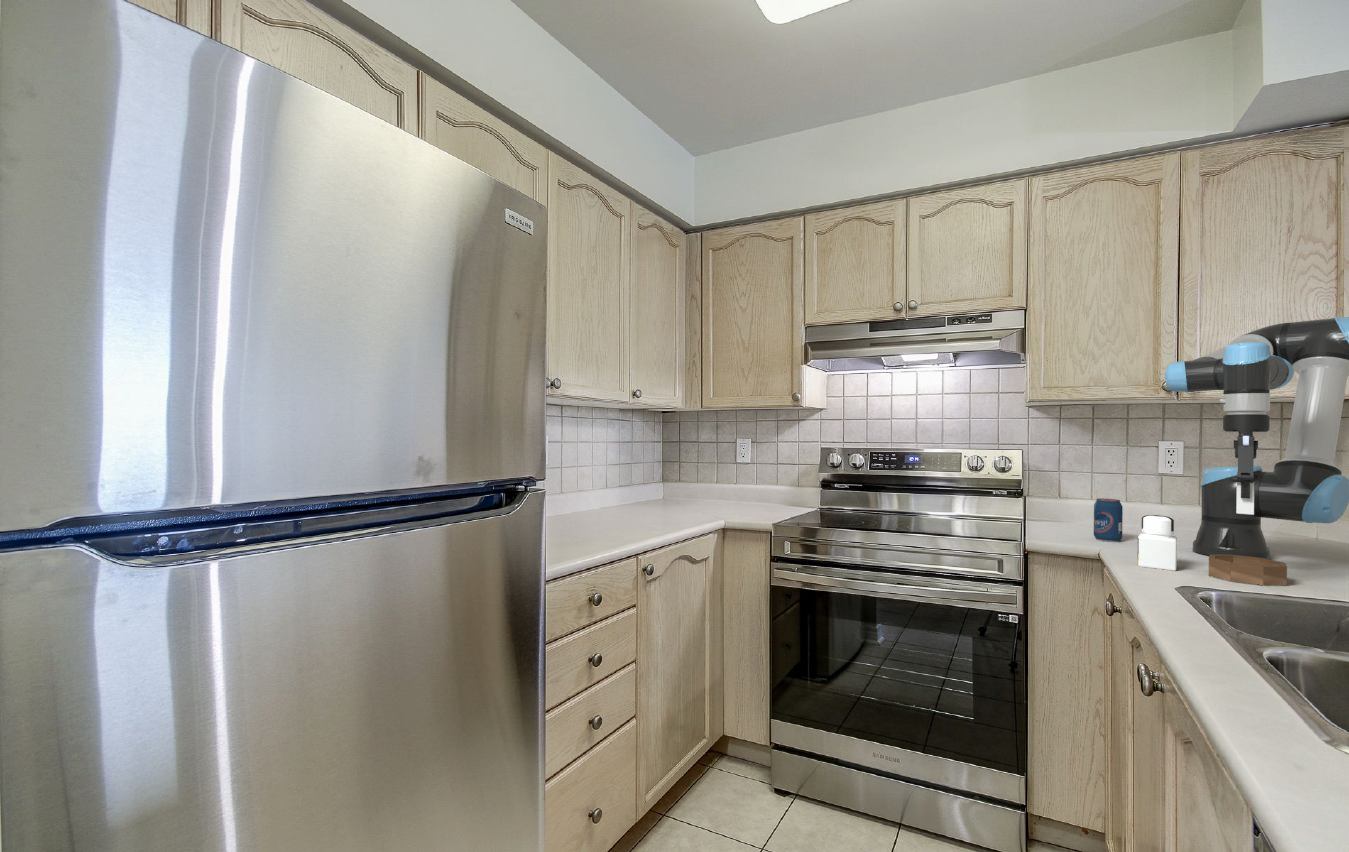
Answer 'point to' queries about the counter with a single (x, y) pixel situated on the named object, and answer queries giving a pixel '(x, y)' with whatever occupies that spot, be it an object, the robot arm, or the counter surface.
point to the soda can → (1108, 520)
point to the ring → (1248, 569)
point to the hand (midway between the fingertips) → (1245, 511)
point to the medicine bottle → (1157, 543)
